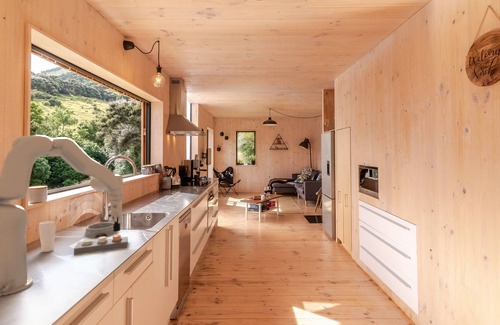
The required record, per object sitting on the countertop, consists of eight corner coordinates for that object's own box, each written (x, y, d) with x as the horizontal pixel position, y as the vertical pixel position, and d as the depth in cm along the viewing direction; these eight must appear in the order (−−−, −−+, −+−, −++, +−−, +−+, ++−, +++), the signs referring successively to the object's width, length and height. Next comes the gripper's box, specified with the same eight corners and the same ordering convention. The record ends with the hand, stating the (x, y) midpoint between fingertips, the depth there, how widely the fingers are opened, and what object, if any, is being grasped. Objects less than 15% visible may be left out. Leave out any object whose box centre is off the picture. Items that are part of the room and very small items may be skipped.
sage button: (91, 247, 138) (90, 241, 138) (82, 248, 136) (81, 243, 136) (92, 245, 142) (92, 239, 142) (83, 246, 140) (83, 240, 140)
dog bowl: (118, 234, 166) (117, 226, 165) (83, 239, 157) (83, 230, 157) (116, 228, 181) (116, 220, 180) (85, 232, 172) (85, 224, 172)
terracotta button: (120, 242, 143) (120, 236, 143) (112, 243, 142) (112, 237, 142) (121, 239, 147) (121, 234, 147) (113, 240, 145) (113, 235, 145)
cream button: (106, 243, 141) (106, 238, 140) (97, 245, 139) (97, 239, 139) (107, 241, 144) (106, 236, 144) (98, 242, 143) (98, 237, 143)
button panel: (126, 247, 142) (126, 241, 142) (74, 254, 133) (73, 248, 132) (127, 241, 151) (127, 236, 151) (78, 248, 142) (78, 242, 142)
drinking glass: (47, 253, 134) (46, 224, 134) (36, 252, 136) (35, 223, 135) (59, 248, 141) (58, 221, 141) (48, 248, 142) (47, 220, 142)
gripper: (122, 199, 138) (123, 233, 139) (124, 195, 152) (125, 226, 153) (106, 200, 135) (107, 235, 136) (109, 196, 149) (110, 228, 150)
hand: (116, 230), depth 144 cm, fingers closed
